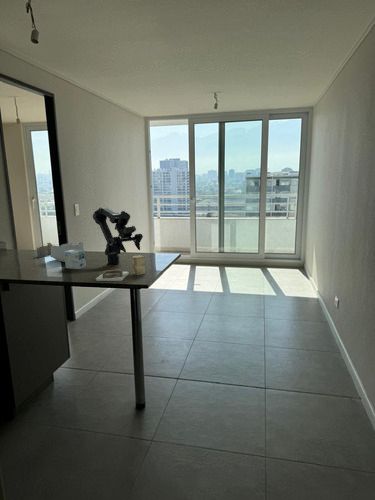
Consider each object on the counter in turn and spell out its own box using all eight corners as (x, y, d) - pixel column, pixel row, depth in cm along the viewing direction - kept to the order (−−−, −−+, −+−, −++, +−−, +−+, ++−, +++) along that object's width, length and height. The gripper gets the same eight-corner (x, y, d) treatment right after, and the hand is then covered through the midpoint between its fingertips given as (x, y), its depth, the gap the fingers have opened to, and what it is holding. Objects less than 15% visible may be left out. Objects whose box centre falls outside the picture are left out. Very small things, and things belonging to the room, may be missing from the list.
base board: (96, 280, 175) (95, 278, 175) (105, 273, 189) (104, 271, 189) (121, 280, 174) (121, 278, 174) (128, 273, 187) (128, 271, 187)
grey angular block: (61, 265, 213) (59, 247, 211) (50, 260, 227) (48, 244, 225) (90, 259, 227) (88, 243, 224) (78, 256, 241) (76, 240, 238)
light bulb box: (86, 266, 207) (84, 250, 205) (79, 269, 201) (78, 252, 198) (72, 265, 210) (70, 249, 208) (65, 268, 204) (63, 251, 202)
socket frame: (102, 278, 175) (102, 275, 175) (103, 273, 185) (103, 270, 185) (122, 276, 177) (122, 274, 177) (122, 271, 187) (122, 269, 187)
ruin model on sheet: (51, 254, 249) (49, 242, 247) (53, 255, 248) (52, 242, 246) (37, 257, 240) (36, 244, 238) (40, 258, 238) (38, 245, 236)
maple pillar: (133, 273, 188) (132, 256, 186) (140, 271, 191) (139, 255, 189) (137, 275, 184) (136, 257, 182) (145, 273, 187) (144, 256, 185)
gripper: (111, 223, 185) (122, 244, 179) (140, 220, 196) (151, 240, 190) (106, 235, 193) (116, 256, 186) (134, 232, 204) (144, 251, 197)
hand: (132, 251), depth 190 cm, fingers open, 9 cm apart
